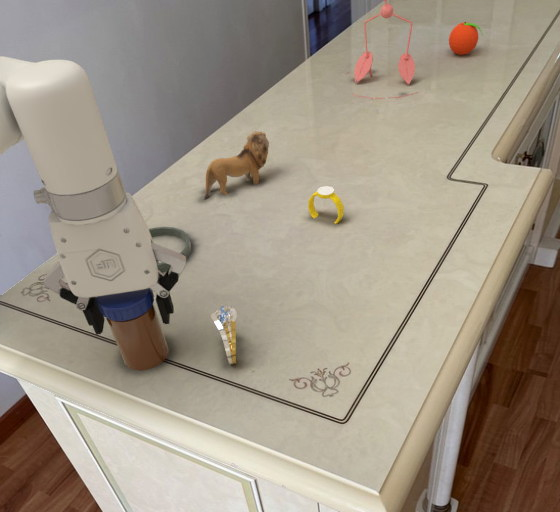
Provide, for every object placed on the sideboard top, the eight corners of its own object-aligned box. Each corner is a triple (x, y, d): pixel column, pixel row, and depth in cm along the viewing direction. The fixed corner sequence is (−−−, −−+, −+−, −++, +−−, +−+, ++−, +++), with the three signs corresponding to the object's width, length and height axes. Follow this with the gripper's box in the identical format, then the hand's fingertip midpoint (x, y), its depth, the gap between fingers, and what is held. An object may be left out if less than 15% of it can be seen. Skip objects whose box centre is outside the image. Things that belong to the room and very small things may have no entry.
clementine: (484, 50, 146) (488, 18, 141) (475, 60, 142) (479, 27, 137) (453, 48, 149) (456, 17, 144) (443, 58, 145) (446, 25, 140)
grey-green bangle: (108, 266, 95) (103, 254, 93) (157, 231, 101) (154, 220, 99) (157, 286, 90) (154, 274, 88) (206, 249, 96) (203, 237, 94)
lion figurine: (263, 171, 113) (257, 124, 106) (279, 180, 109) (274, 133, 103) (197, 199, 108) (186, 151, 101) (211, 210, 104) (201, 161, 98)
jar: (116, 364, 78) (89, 301, 71) (147, 338, 81) (125, 275, 74) (147, 381, 75) (123, 317, 68) (179, 353, 78) (159, 289, 71)
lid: (126, 328, 68) (121, 315, 67) (89, 310, 71) (84, 298, 70) (165, 297, 72) (161, 284, 70) (129, 281, 75) (124, 269, 74)
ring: (246, 374, 74) (236, 326, 68) (221, 378, 74) (209, 330, 68) (244, 338, 79) (235, 290, 73) (221, 341, 79) (209, 294, 73)
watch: (306, 223, 98) (303, 190, 94) (315, 215, 99) (312, 182, 95) (338, 231, 95) (336, 197, 91) (346, 222, 97) (345, 189, 92)
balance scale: (339, 72, 146) (334, -108, 121) (443, 78, 136) (460, -117, 111) (315, 96, 136) (304, -94, 112) (425, 104, 127) (439, -102, 102)
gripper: (-4, 225, 59) (60, 352, 71) (168, 199, 59) (203, 331, 71) (12, 189, 64) (69, 313, 76) (170, 165, 64) (202, 294, 76)
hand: (133, 321), depth 74 cm, fingers open, 7 cm apart
